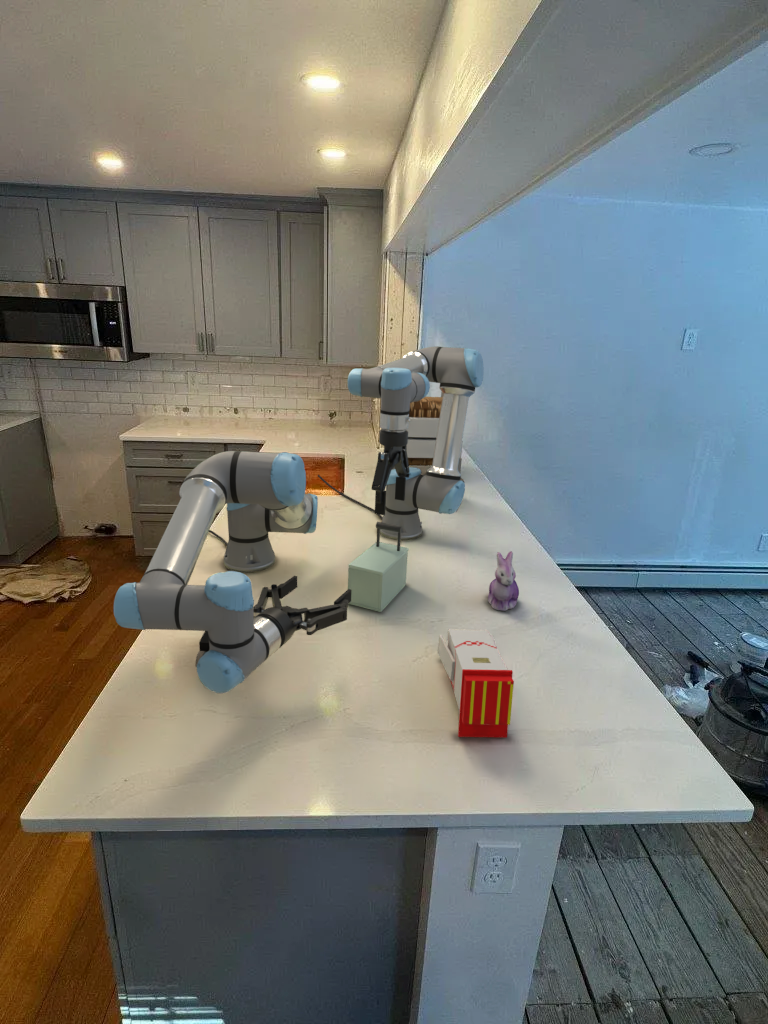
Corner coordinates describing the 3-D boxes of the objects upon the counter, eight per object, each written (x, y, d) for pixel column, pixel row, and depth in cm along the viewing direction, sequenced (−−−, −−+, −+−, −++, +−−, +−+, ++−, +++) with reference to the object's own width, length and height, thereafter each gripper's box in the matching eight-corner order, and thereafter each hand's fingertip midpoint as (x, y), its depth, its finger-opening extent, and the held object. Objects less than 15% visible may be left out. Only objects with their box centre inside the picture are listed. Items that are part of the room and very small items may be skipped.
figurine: (500, 615, 149) (507, 563, 144) (477, 598, 157) (483, 548, 152) (528, 608, 153) (536, 557, 148) (504, 591, 161) (510, 543, 156)
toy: (488, 613, 130) (523, 677, 101) (484, 667, 133) (517, 744, 104) (435, 612, 130) (455, 676, 101) (432, 666, 133) (451, 743, 103)
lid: (377, 543, 164) (378, 517, 161) (408, 550, 160) (410, 523, 157) (348, 567, 148) (349, 538, 145) (382, 575, 144) (384, 546, 142)
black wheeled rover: (228, 683, 120) (242, 637, 133) (225, 655, 116) (240, 611, 130) (196, 682, 119) (214, 637, 133) (192, 654, 116) (211, 610, 130)
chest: (374, 577, 167) (376, 544, 163) (405, 585, 163) (407, 551, 160) (347, 603, 152) (348, 567, 148) (380, 612, 148) (382, 575, 144)
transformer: (382, 463, 289) (386, 382, 275) (445, 464, 293) (451, 384, 279) (390, 482, 257) (394, 392, 243) (460, 483, 261) (468, 394, 247)
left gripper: (213, 634, 112) (275, 590, 131) (323, 668, 103) (372, 616, 122) (211, 600, 110) (274, 561, 128) (324, 632, 101) (374, 585, 119)
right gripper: (388, 440, 135) (384, 523, 142) (424, 423, 157) (419, 496, 164) (359, 436, 138) (357, 518, 145) (398, 420, 159) (395, 492, 167)
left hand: (322, 587), depth 125 cm, fingers open, 13 cm apart
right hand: (390, 506), depth 154 cm, fingers open, 13 cm apart
